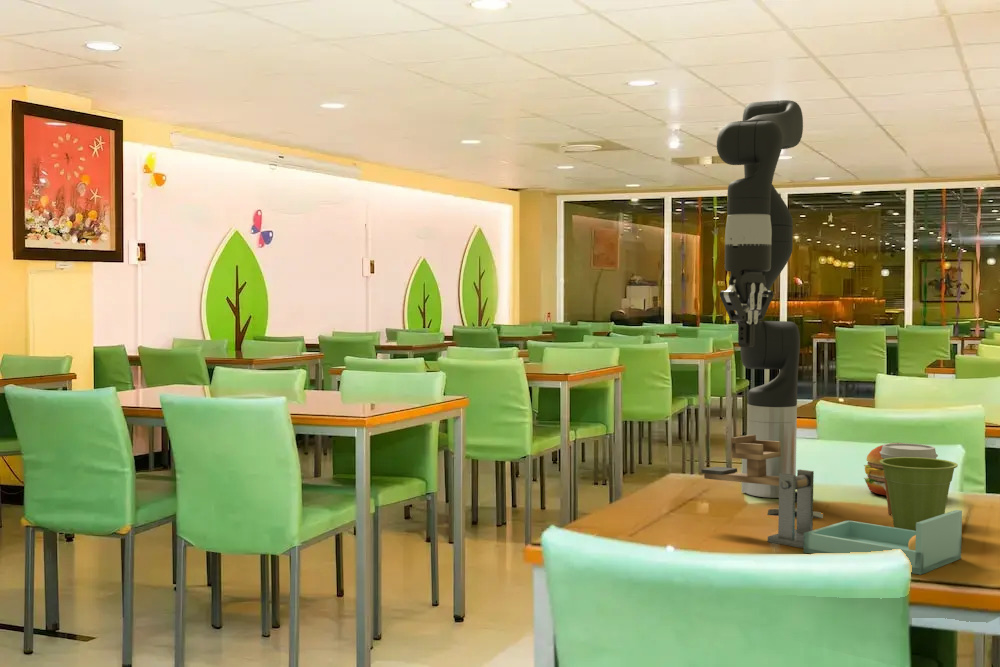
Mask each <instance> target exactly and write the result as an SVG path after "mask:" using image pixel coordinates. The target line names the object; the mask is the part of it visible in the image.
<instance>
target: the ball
mask: <svg viewBox="0 0 1000 667" xmlns="http://www.w3.org/2000/svg"><path fill="white" fill-rule="evenodd" d="M908 547H909V550H915V547H916V535H915V536H913V537H912V538H911V539H910V540H909V543H908Z"/></svg>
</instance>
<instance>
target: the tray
mask: <svg viewBox="0 0 1000 667" xmlns="http://www.w3.org/2000/svg"><path fill="white" fill-rule="evenodd" d="M962 520H963V510H960V509H955V510H951V511H948V512H945V514H942V515H939V516H936V517H933V518H930V519H927V520H923V521H920V522H917V523H916V531H914V530H907V529H901V528H895V527H894V526H888V525H887V526H886V525H881V524H874V523H868V522H862V521H854V520H851V519H850V520H849V519H847V520H844V521H840V522H837V523H833V524H830V525H826V526H823V527H820V528H815V529H813V530H812V531H809V532H805V533H804V548H803V554H806V553H850V552H871V551H883V550H892V549H901V550H902V551H903V552H904V553H905V554H906V556H907V557H908V558H909V560H910V562H911V565H912V573H911V574H914V575H921V576H922V575H923V574H927V573H929V572H931V571H933V570H936V569H939V568H942V567H944V566H946V565H949V564H951V563H953V562H957V561H958V560H960V559H961V560H962V532H963V530H962V527H963V523H962V522H963V521H962ZM915 535H916V547H915V550H909V547H908V543H909V540H910V539H911V538H912V537H913V536H915Z"/></svg>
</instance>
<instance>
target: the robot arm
mask: <svg viewBox="0 0 1000 667" xmlns="http://www.w3.org/2000/svg"><path fill="white" fill-rule="evenodd" d="M803 120H804V117H803V112H802V108H801V106H800V104H799V103H797V102H796V101H794V100H789V99H788V100H787V99H786V100H783V99H781V100H767V101H755V102H753V101H752V102H749V103H747V105H746V106H744V110H743V114H742V120H738V121H731V122H728V123H726V124H725V125H723V127H722V128H721V129H720V131H719V132H718V134H717V138H716V151H717V154H718V156H719V158H720V160H721V161H723V163H725V164H727V165H730V166H743V167H744V168H743V169H744V170H743V171H744V178H738V179H735V180H732V181H731V182H729V184H728V186H727V196H726V197H727V198H726V199H727V202H726V203H727V205H726V206H727V208H726V210H727V211H726V214H727V217H726V224H725V234H724V270H725V271H727V272H730V275H729V279H728V287H727V289H726V290H720V292H719V297H720V299H721V301H722V304H723V306H724V308H725V311H726V314H727V315H728V317H729V320H730V321H733V322H735V323H736V324H737V325H738V327H737V328H738V331H737V334H738V338H737V342H738V343H737V344H738V346H739V347H740V349H739V350H740V359H741V362H742V365H743V366H744V367H745V369H751V370H779V372H778V374H777V376H776V377H775V378H773V379H771V380H770V381H768V382H767V383H764V384H762V385H758V386H755V387H752V388H750V389H749V390H748V392H747V405H746V406H747V410H746V411H747V413H746V414H747V416H746V417H747V418H746V419H747V420H746V424H747V425H746V435H756V440H766V441H780V444H781V456H780V457H775V458H769V459H766V475H767V476H778V477H779V474H780V473H784V474H791V475H796V476H797V433H798V432H797V431H798V430H797V429H798V428H797V425H798V421H797V419H798V418H797V416H798V414H797V413H798V412H797V411H798V383H799V382H798V380H799V379H798V376H799V363H800V353H801V352H800V350H801V349H800V348H801V338H800V337H801V335H800V330H799V326H798V325H797V324H796V323H795V322H793V321H784V320H781V321H780V320H777V321H776V320H773V321H772V320H764V318H765V316H766V314H767V311H768V309H769V307H770V304H771V302H772V300H773V298H774V295H775V294H774V293H775V292H774V291H773V290H770V289H771V288H772V286H773V284H774V283H775V281H776V280H777V278H778V277H779V276H780V275H781V273H782V272H783V270H784V268H785V266H786V265H787V264H788V262H789V260H790V258H791V256H792V253H793V240H794V239H793V234H794V233H793V230H794V229H793V227H794V224H793V223H794V222H793V221H794V220H793V216H792V213H791V211H790V209H789V207H788V206H787V204H786V202H785V201H784V200H783V198H782V196H781V195H780V194H779V192H778V191H777V190H776V188H775V186H774V184H773V180H774V175H775V172H776V168H777V165H778V162H779V159H780V156H781V153H782V150H787V149H791V148H794V147H796V146H797V145H799V144H800V142H801V140H802V138H803V133H804V132H803V131H804V121H803ZM741 460H742V461H741V473H745V474H747V459H741ZM741 493H744V494H747V495H749V496H754V497H762V498H770V499H771V498H773V499H775V498H778V499H779V486H776V485H766V484H755V483H745V482H741Z"/></svg>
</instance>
